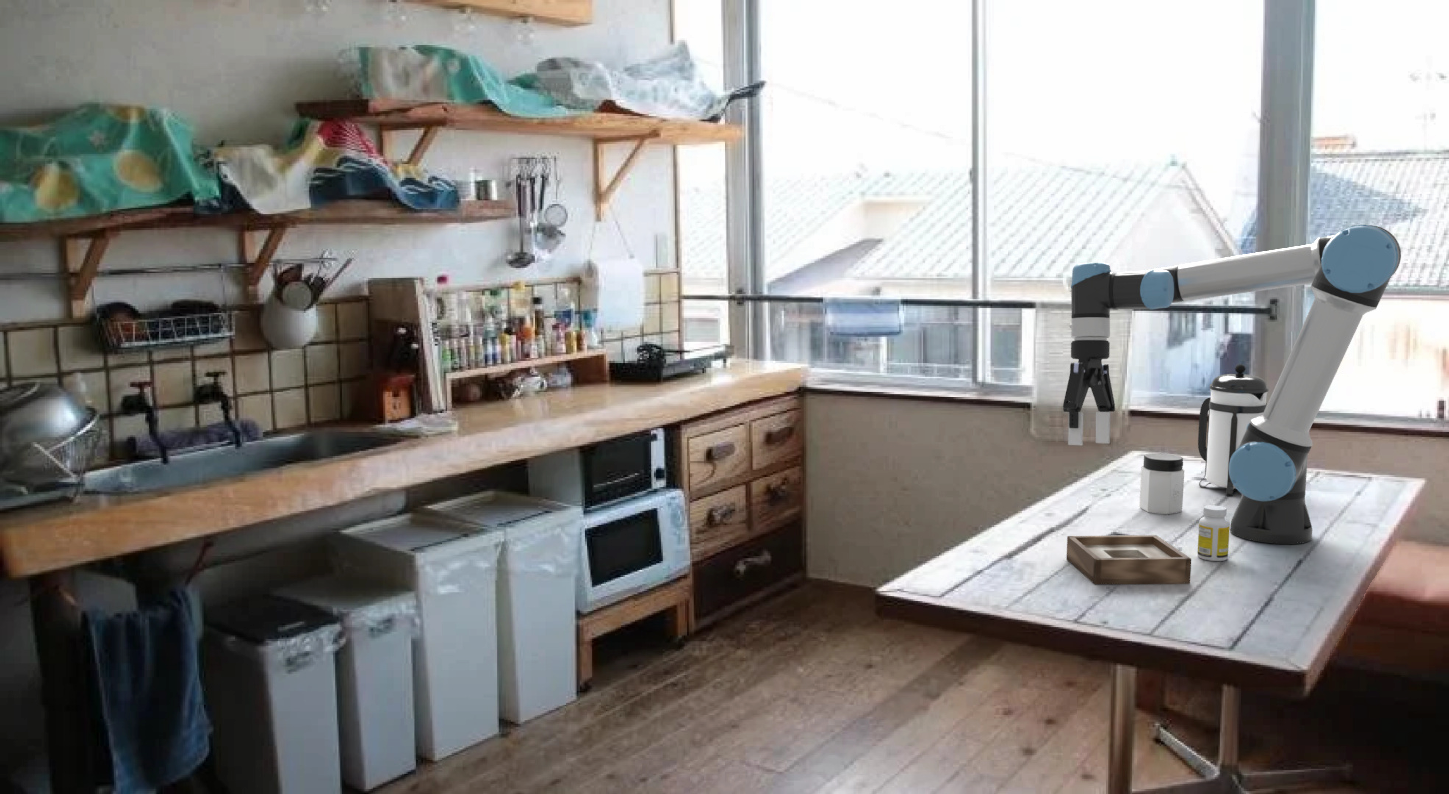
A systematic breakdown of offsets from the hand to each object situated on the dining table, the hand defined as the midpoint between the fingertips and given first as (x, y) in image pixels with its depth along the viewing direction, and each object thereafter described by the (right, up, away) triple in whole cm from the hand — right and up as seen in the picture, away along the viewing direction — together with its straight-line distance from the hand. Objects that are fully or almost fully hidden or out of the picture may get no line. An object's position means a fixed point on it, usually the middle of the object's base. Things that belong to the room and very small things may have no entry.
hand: (1089, 444), depth 248 cm
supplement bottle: (+18, -21, -16) cm, 32 cm away
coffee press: (+45, -12, +42) cm, 63 cm away
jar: (+22, -16, +21) cm, 34 cm away
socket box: (-1, -22, -25) cm, 33 cm away
